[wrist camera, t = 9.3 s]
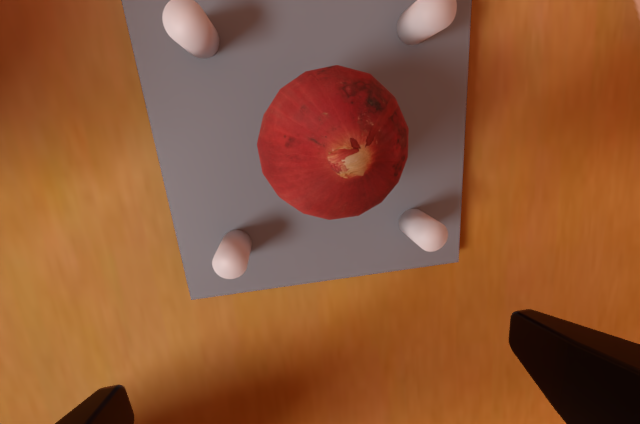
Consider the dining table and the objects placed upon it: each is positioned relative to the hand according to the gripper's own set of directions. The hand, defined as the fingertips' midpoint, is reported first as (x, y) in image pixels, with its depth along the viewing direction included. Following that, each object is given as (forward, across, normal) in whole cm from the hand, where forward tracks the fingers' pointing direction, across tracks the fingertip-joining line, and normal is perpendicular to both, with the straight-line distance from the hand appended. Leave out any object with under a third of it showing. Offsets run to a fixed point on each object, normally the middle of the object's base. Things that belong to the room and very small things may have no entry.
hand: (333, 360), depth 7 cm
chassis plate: (+11, -2, -4) cm, 12 cm away
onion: (+10, -2, -4) cm, 11 cm away
